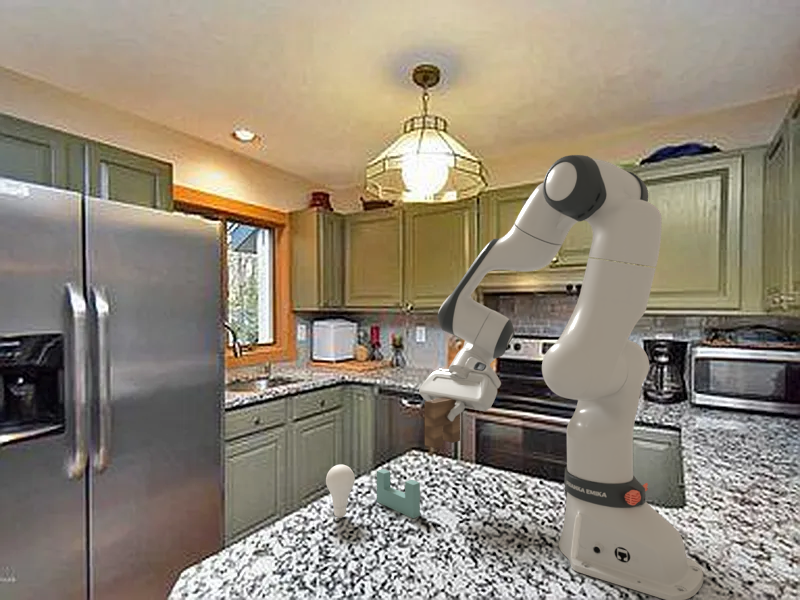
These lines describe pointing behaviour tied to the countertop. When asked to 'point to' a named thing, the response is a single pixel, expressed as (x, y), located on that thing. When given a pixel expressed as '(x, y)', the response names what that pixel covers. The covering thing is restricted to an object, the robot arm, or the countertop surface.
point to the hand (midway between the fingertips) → (440, 417)
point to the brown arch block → (440, 423)
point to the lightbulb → (340, 487)
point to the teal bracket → (398, 495)
